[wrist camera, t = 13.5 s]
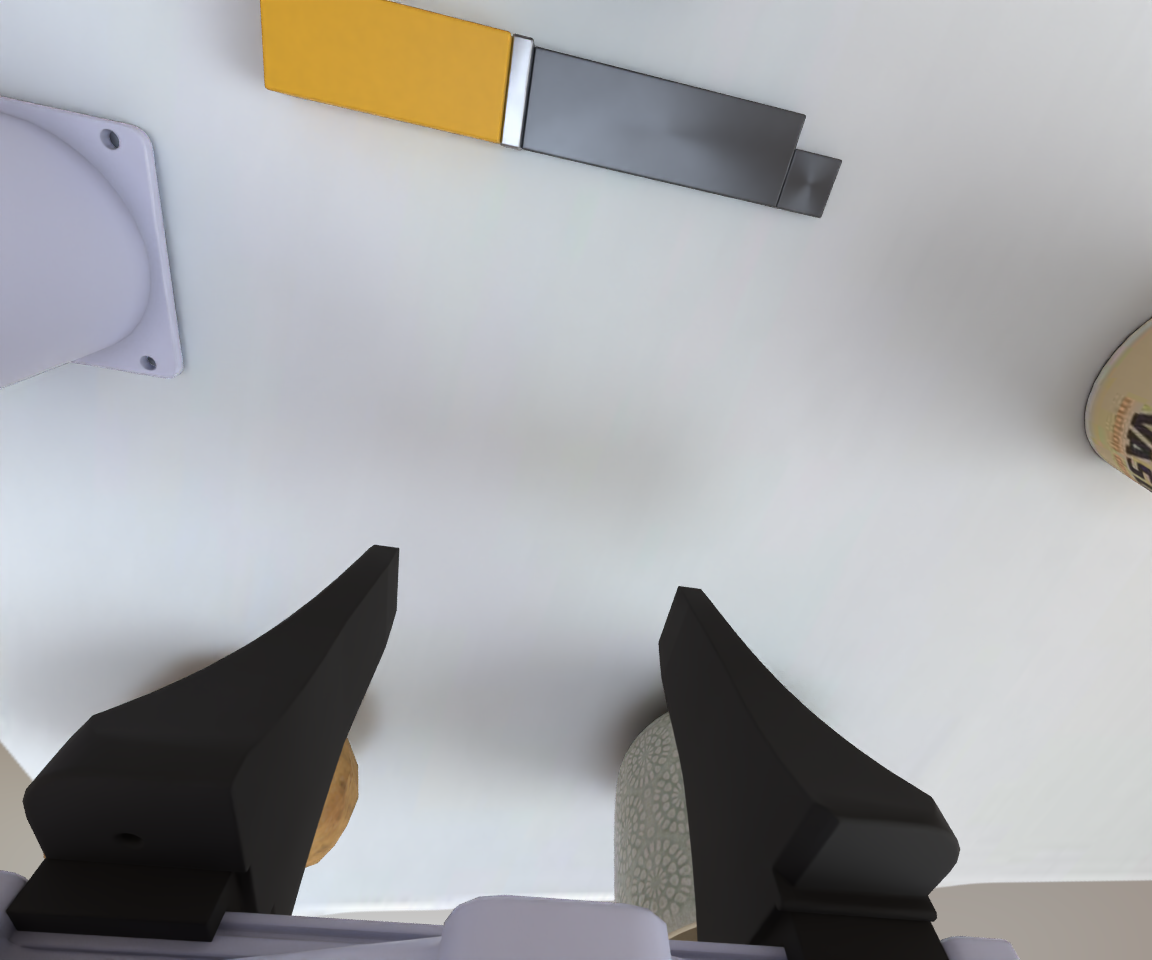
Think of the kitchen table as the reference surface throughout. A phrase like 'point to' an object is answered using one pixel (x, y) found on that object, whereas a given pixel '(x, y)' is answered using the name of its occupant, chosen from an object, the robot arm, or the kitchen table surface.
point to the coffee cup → (1125, 408)
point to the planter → (654, 832)
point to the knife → (538, 100)
